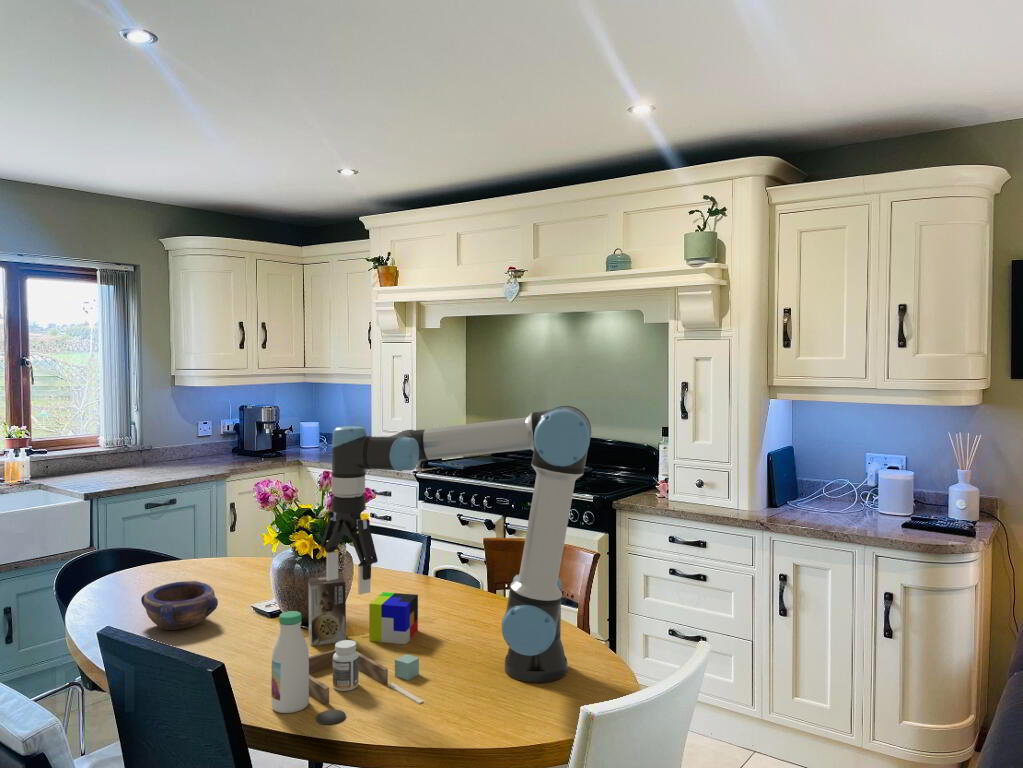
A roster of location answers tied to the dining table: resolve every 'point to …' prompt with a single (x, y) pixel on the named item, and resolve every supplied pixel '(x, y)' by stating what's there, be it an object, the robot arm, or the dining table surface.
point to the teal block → (406, 667)
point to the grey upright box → (327, 610)
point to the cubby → (326, 660)
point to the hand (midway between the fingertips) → (347, 586)
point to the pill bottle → (345, 666)
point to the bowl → (179, 604)
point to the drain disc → (330, 717)
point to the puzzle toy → (393, 617)
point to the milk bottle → (290, 666)
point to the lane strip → (405, 693)
